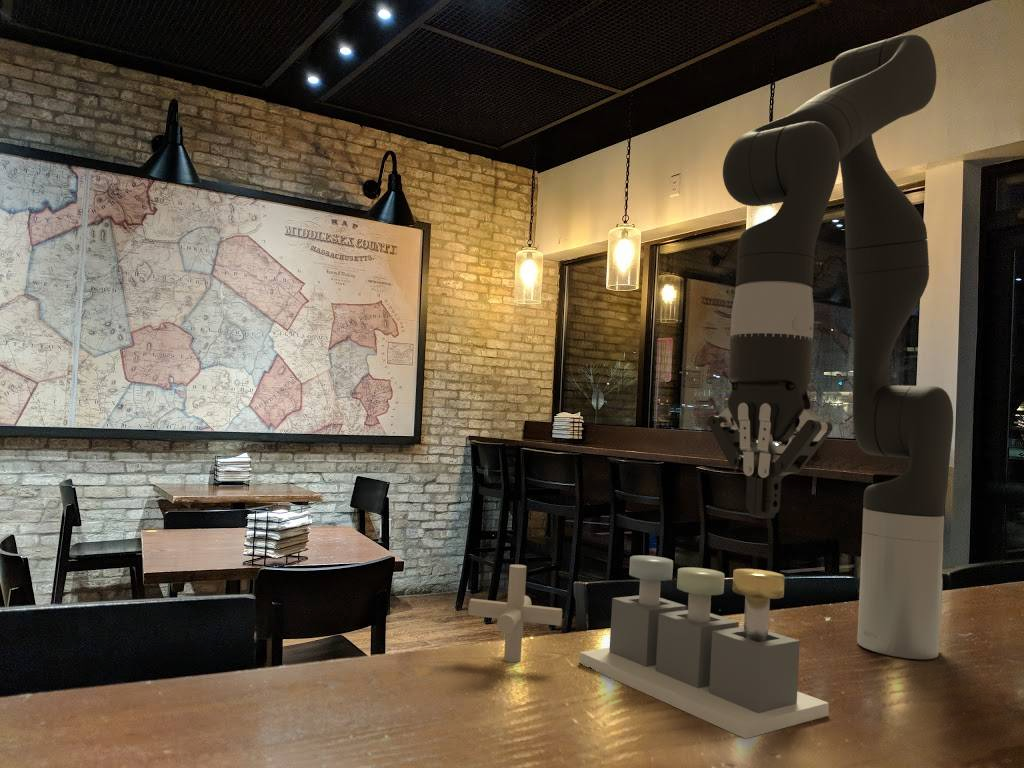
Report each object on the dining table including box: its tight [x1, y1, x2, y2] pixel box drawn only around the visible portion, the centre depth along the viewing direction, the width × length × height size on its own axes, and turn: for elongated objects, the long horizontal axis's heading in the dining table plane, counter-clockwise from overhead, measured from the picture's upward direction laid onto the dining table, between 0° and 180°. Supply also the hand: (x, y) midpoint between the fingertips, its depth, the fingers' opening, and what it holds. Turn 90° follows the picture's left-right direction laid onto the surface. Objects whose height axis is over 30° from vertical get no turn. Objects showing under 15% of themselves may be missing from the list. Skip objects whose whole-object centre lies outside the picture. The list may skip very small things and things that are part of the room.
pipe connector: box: [467, 564, 563, 663], centre depth 86 cm, size 10×10×10 cm
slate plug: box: [628, 554, 674, 607], centre depth 86 cm, size 5×5×8 cm
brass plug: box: [732, 568, 786, 642], centre depth 74 cm, size 5×5×8 cm
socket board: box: [578, 595, 830, 740], centre depth 80 cm, size 12×22×7 cm, turn 35°
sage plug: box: [676, 566, 725, 623], centre depth 80 cm, size 5×5×8 cm
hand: (761, 516), depth 75 cm, fingers closed
